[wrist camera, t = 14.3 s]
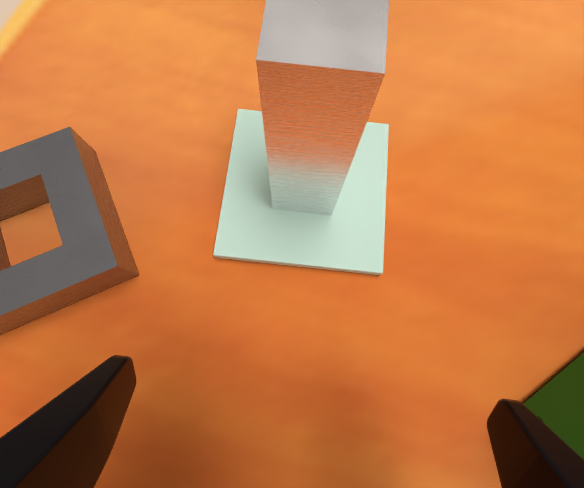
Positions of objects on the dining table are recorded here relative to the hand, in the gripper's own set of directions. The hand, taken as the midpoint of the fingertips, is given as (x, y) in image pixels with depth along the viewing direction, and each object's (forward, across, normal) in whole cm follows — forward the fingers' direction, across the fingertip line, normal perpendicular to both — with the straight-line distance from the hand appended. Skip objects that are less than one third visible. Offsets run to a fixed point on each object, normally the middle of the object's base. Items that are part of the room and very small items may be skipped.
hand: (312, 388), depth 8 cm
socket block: (+14, +18, +6) cm, 23 cm away
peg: (+17, +1, +1) cm, 17 cm away
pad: (+18, +1, +2) cm, 18 cm away
